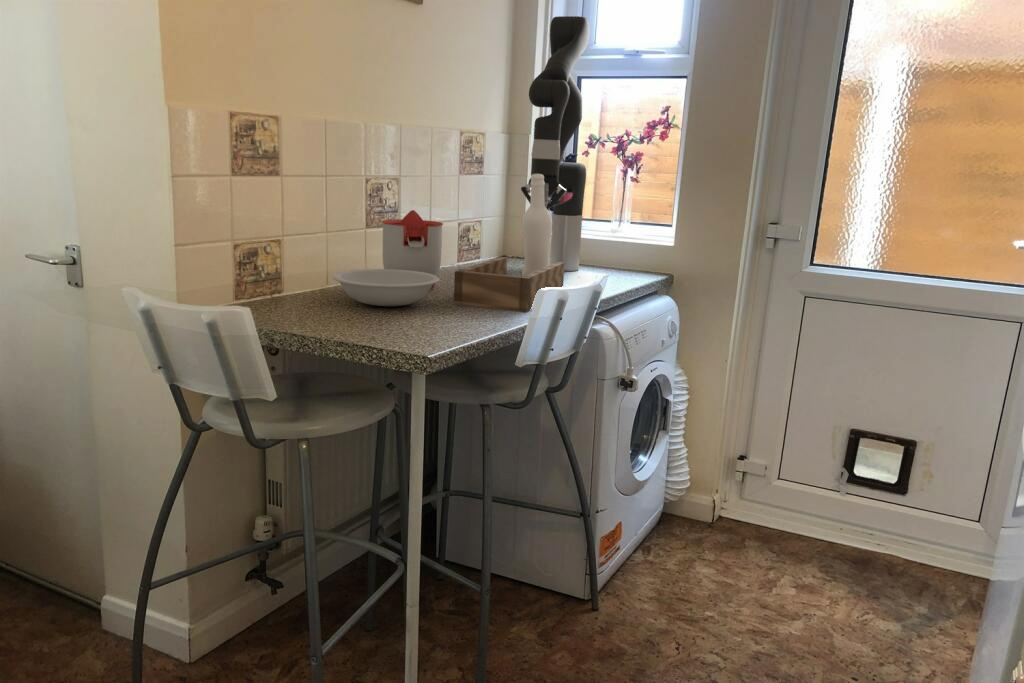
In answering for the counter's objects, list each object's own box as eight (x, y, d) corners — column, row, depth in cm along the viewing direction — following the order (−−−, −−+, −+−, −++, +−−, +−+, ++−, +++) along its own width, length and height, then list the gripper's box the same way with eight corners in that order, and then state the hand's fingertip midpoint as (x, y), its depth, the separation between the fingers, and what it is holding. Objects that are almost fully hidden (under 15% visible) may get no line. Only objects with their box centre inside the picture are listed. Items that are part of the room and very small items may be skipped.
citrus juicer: (383, 293, 198) (384, 212, 193) (378, 282, 214) (379, 206, 210) (446, 294, 202) (449, 214, 197) (437, 282, 218) (439, 208, 214)
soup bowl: (460, 308, 184) (461, 280, 183) (372, 319, 168) (373, 288, 166) (397, 292, 201) (397, 266, 199) (312, 301, 184) (312, 273, 183)
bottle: (552, 278, 224) (554, 171, 212) (550, 288, 217) (552, 178, 205) (523, 277, 225) (523, 170, 213) (520, 287, 218) (520, 177, 206)
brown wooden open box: (498, 285, 218) (500, 257, 217) (562, 292, 213) (564, 262, 211) (453, 304, 189) (454, 271, 187) (526, 312, 183) (528, 278, 182)
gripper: (573, 158, 217) (569, 223, 220) (526, 156, 220) (523, 220, 224) (566, 158, 210) (561, 225, 213) (518, 156, 214) (514, 221, 217)
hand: (542, 222), depth 219 cm, fingers closed
